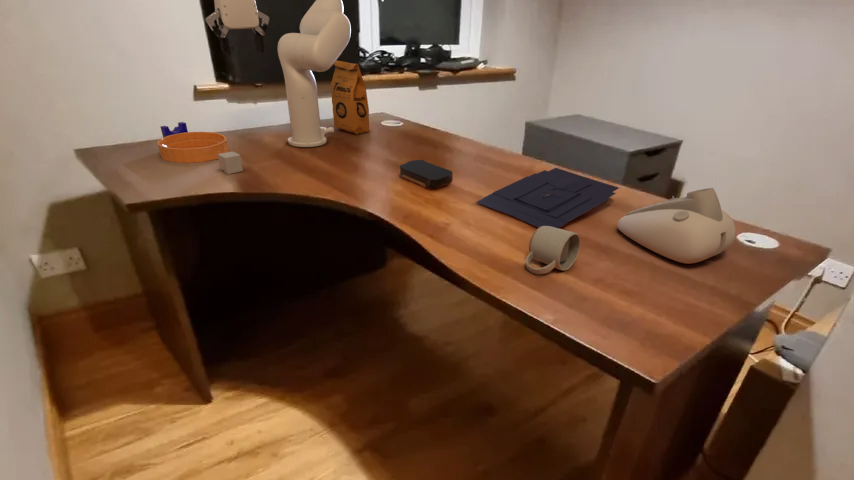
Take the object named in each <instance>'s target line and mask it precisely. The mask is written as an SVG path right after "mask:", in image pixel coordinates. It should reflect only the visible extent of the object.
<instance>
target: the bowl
mask: <svg viewBox="0 0 854 480" xmlns="http://www.w3.org/2000/svg"><path fill="white" fill-rule="evenodd" d="M156 144H157V148H158V151H159V156H160V158H161V159H162V160H164V161H166V162H170V163H177V164H181V163H182V164H194V163H204V162H210V161H215V160H219V158H218V154H221V153H227V152H230V147H229V142H228V138H227V137H226V135H224V134H222V133H219V132H214V131H213V132H212V131H188V132H186V133H179V134H173V135H169V136H166V137H163V136H162V137H161V138H160V139H158V140H157V142H156Z"/></svg>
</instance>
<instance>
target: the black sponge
mask: <svg viewBox="0 0 854 480" xmlns="http://www.w3.org/2000/svg"><path fill="white" fill-rule="evenodd" d="M399 168H400V169H399V170H400V171H399V177H401V178H403V179H405V180H407V181H410V182H413V183H415V184H417V185H420V186H421V187H423V188H426V189H428V190H436V189H438V188H440V187H443V186H447V185H449V184H451V183H452V182H453V178H454V177H453V176H454V175H453V171H452V170H450V169H448V168H444V167H441V166H440V165H439V166H438V165H436V164H433V163H431V162H429V161H428V162H427V161H426V160H423V159H414V160H409V161H406V162H405V163H403V164H400V165H399Z"/></svg>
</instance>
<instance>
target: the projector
mask: <svg viewBox="0 0 854 480" xmlns="http://www.w3.org/2000/svg"><path fill="white" fill-rule="evenodd" d="M671 197H672V198H669V199H668V200H664V201H660V202H656V203H654V204H649V205H646V206H643V207H640V208H637V209H634V210H632V211H629V212H627V213H626V214H625V215H624V216H622V217H621V218H620V219H619V220H618V223H617V228H618V230H619V231H620V232H621V233H622V234H623V235H625V236H626V237H628V238H629V239H631V240H632V241H634V242H636V243H637V244H639V245H640V246H642V247H644V248H646V249H648V250H650V251H652V252H654V253H656V254H658V255H660V256H662V257H665V258H666V259H670V260H672V261H675V262H678V263H680V264H681V263H682V264H688V265H689V264H696V263H700V262H702V261H706V260H707V259H710V258H712V257H714V256H717V255H719V254H721V253H723V252H725V251H726V250H727V249H729V248H731V246H732V245H733V243H734V241H735V239H736V233H737V232H736V224H735V222H734V219H733V218H732V217H731V216H730V215H729V214H728V212H726V211H724V210H723V209H722V206H721V204H720V200H719V198H718V195H717V192H716V190H715V188H714V187H708V188H702V189H697V190H693V191H688V192H687V193H686V196H684V197H675V196H674V195H671Z"/></svg>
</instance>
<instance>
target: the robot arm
mask: <svg viewBox="0 0 854 480" xmlns="http://www.w3.org/2000/svg"><path fill="white" fill-rule="evenodd" d="M213 1H214V3H213V4H214V12H212V13H211V14H209V15H208V16H207V17H205V22H206V23H207V25H208V26H209V29H210V30H211V32H213V33H214V34H215V35H216V36H217V37H218V41H219V44H220V50H221V51H222V53H223V55H227V56H230V55H231V54H232V52H231V47H230V42H229V38H228V37H227V34H228V32H229V30H245V29H251V30H252V31H253V32H254V33H255V34H254V36H253V39H254V44H255V45H254V46H255V51H256V52H258V53H264V52H265V50H264V49H265V44H264V43H265V42H264V36H265V32H267V29H268V25H269V23H270V17H269V16H268V15H267V14H265V13H263V12H261V11H260V10H258V7H257V2H256V0H213ZM260 19H261V24H260ZM215 21H216V23H215ZM216 24H217V26H216ZM351 27H352V26H351V22H350V19H349V18H348V16H347V15H346V14H344V3H343V0H315V1H314V2H313V4H312V5H311V6H310V7H309V9H308V10H307V11H306V13H305V14H304V15H303V17H302V18H301V20H300V23H299V32H289V33H285V34H283V35H282V36H281V37H280V38H279V40H278V42H277V55H278V59H279V62H280V65H281V70H282V73H283V78H284V84H285V92H286V101H287V107H288V117H289V124H290V131H291V136H289V137H288V138H287V144H288V145H290V146H292V147H296V148H298V147H299V148H315V147H319V146H320V147H321V146H323V145H325V144H326V143H327V141H328V139H327V137H326V136H327V135H330V134H334V133H335V129H334V126H333V127H332V126H330V127H326V126H321V117H320V105H319V95H318V84H317V81H316V78H315V74H313V72H318V73H320V72H321V73H322V72H326V71H328V70H330V68H331V67H333V65H334V62H335V61H336V60H337V59H338V58H339V57H340V56H341V55H342V54H343V51H344V50H345V49H346V47H347V45H348V44H349V42H350V38H351V33H352V28H351ZM337 61H338V60H337Z"/></svg>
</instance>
